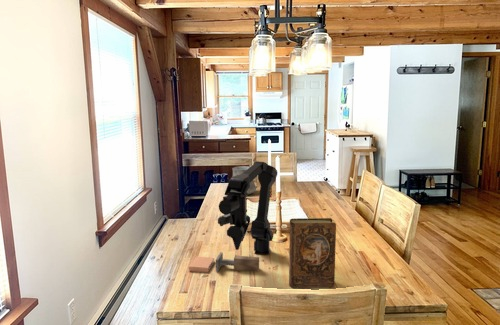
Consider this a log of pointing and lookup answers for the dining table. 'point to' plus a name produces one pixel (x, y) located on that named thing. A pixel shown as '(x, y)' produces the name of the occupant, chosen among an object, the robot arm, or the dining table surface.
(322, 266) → the book
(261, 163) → the robot arm
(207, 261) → the tile
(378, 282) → the dining table surface
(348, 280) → the dining table surface
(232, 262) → the scraper
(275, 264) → the dining table surface
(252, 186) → the vessel
